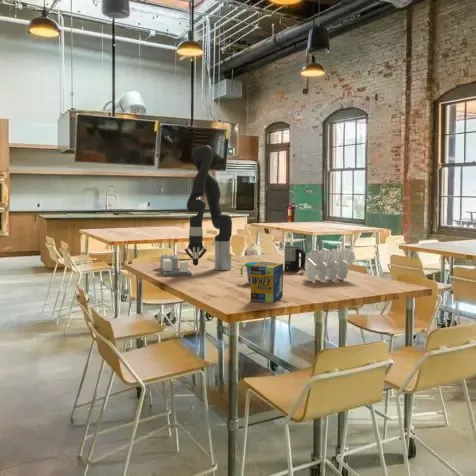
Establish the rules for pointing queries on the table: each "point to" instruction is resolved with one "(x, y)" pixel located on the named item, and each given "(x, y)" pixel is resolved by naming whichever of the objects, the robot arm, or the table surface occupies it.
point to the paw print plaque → (171, 257)
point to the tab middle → (167, 265)
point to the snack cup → (249, 269)
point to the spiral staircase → (328, 263)
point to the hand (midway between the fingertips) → (195, 265)
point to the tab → (184, 266)
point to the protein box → (266, 282)
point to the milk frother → (294, 258)
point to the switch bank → (175, 273)
